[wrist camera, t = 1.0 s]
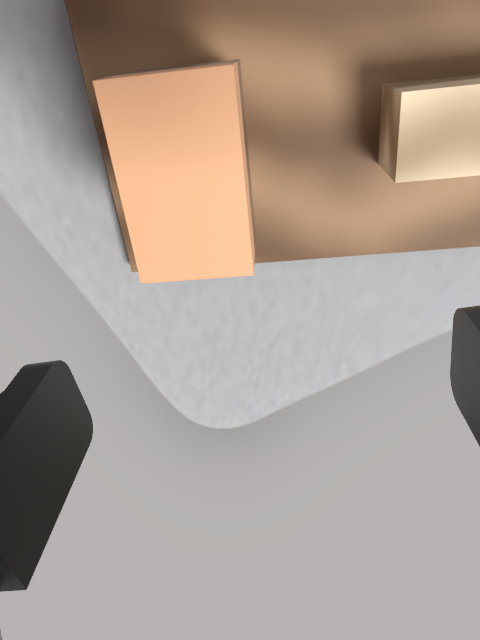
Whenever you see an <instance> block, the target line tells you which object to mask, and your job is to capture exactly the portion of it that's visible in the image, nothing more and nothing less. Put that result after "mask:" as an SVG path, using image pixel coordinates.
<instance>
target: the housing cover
mask: <svg viewBox="0 0 480 640" xmlns="http://www.w3.org/2000/svg"><path fill="white" fill-rule="evenodd" d="M93 85H94V89H95V94H96V98H97V102H98V106H99V110H100V114H101V119H102V123H103V127H104V131H105V135H106V139H107V144H108V148H109V152H110V156H111V160H112V164H113V169H114V173H115V177H116V181H117V185H118V189H119V194H120V198H121V202H122V206H123V210H124V214H125V219H126V223H127V227H128V231H129V235H130V240H131V244H132V248H133V252H134V256H135V260H136V265H137V269H138V273H139V277H140V281H141V283H154V282H168V281H182V280H196V279H209V278H223V277H237V276H251V275H254V259H255V249H254V238H253V227H252V216H251V205H250V195H249V184H248V173H247V162H246V151H245V140H244V130H243V119H242V108H241V97H240V86H239V76H238V65H237V61H236V62H228V63H219V64H210V65H202V66H193V67H185V68H176V69H167V70H159V71H150V72H142V73H133V74H124V75H116V76H110V77H106V78H102V79H98V80H94V81H93Z"/></svg>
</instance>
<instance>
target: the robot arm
mask: <svg viewBox="0 0 480 640" xmlns="http://www.w3.org/2000/svg"><path fill="white" fill-rule="evenodd" d="M450 377H451V386H452V391H453V395H454V398H455V401H456V403H457V405H458V407H459V409H460V411H461V413H462V415H463V416H464V418H465V420H466V422H467V424H468V426H469V427H470V429H471V431H472V433H473V435H474V437H475V438H476V440H477V442H478V444H479V446H480V306H474V307H466V308H459V309H457V310H456V311H455V314H454V319H453V335H452V352H451V370H450ZM92 434H93V424H92V418H91V415H90V412H89V410H88V408H87V405H86V403H85V401H84V399H83V397H82V395H81V392H80V390H79V388H78V386H77V384H76V381H75V379H74V377H73V375H72V373H71V371H70V369H69V367H68V365H67V364H66V363H65V362H63V361H60V360H59V361H51V362H43V363H35V364H28V365H25V366H23V367H22V368H21V369H20V371H19V372H18V373H17V375H16V376H15V377H14V379H13V380H12V381H11V383H10V384H9V385H8V387H7V388H6V389H5V391H3V392H2V393H1V394H0V591H14V590H26V589H27V587H28V585H29V582H30V580H31V578H32V576H33V573H34V571H35V569H36V566H37V564H38V562H39V560H40V557H41V555H42V552H43V550H44V548H45V546H46V544H47V541H48V539H49V537H50V534H51V532H52V530H53V528H54V525H55V523H56V521H57V518H58V515H59V514H60V512H61V509H62V507H63V505H64V502H65V500H66V498H67V495H68V493H69V491H70V488H71V486H72V484H73V482H74V480H75V477H76V475H77V473H78V470H79V468H80V466H81V463H82V461H83V459H84V456H85V454H86V452H87V450H88V447H89V445H90V443H91V440H92ZM0 640H2V637H1V631H0Z"/></svg>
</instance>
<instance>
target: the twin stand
mask: <svg viewBox="0 0 480 640" xmlns="http://www.w3.org/2000/svg"><path fill="white" fill-rule="evenodd" d="M65 4H66V8H67V12H68V16H69V20H70V24H71V28H72V32H73V36H74V40H75V44H76V49H77V53H78V57H79V61H80V65H81V69H82V73H83V77H84V81H85V85H86V89H87V93H88V97H89V101H90V105H91V109H92V113H93V117H94V121H95V125H96V129H97V133H98V137H99V141H100V145H101V149H102V153H103V157H104V162H105V166H106V170H107V174H108V178H109V182H110V186H111V190H112V194H113V198H114V202H115V206H116V210H117V214H118V218H119V222H120V226H121V230H122V234H123V238H124V242H125V246H126V250H127V254H128V258H129V262H130V266H131V270H132V272H138V269H137V265H136V260H135V256H134V252H133V248H132V244H131V240H130V235H129V231H128V227H127V223H126V219H125V214H124V210H123V206H122V202H121V198H120V194H119V189H118V185H117V181H116V177H115V173H114V169H113V164H112V160H111V156H110V152H109V148H108V144H107V139H106V135H105V131H104V127H103V123H102V119H101V114H100V110H99V106H98V102H97V98H96V94H95V89H94V85H93V81H94V80H98V79H102V78H106V77H110V76H114V75H118V74H122V73H126V72H132V71H141V70H149V69H158V68H166V67H175V66H184V65H192V64H201V63H209V62H218V61H226V60H235V59H240V63H241V74H242V85H243V97H244V108H245V119H246V130H247V141H248V153H249V164H250V175H251V186H252V197H253V209H254V220H255V231H256V238H255V259H254V263H263V262H276V261H290V260H303V259H316V258H330V257H343V256H356V255H370V254H383V253H396V252H409V251H423V250H436V249H449V248H463V247H476V246H480V0H65Z"/></svg>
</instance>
